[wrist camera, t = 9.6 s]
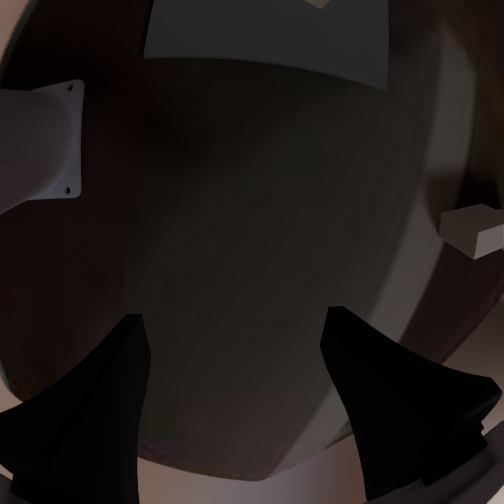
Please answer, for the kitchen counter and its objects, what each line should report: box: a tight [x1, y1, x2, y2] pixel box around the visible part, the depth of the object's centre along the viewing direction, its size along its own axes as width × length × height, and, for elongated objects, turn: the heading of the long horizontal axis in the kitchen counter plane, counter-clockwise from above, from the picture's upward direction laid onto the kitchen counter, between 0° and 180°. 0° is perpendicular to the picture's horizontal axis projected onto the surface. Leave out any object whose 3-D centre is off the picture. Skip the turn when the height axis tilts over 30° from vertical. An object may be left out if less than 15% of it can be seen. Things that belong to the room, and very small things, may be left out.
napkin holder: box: [439, 204, 504, 259], centre depth 19 cm, size 15×11×6 cm
